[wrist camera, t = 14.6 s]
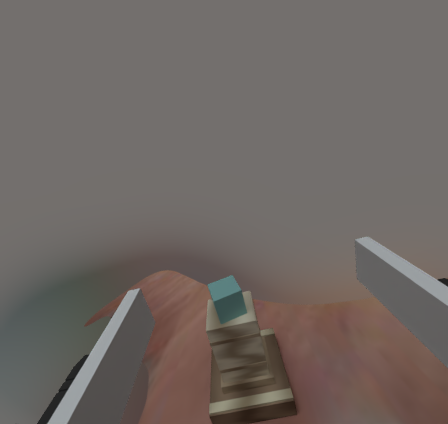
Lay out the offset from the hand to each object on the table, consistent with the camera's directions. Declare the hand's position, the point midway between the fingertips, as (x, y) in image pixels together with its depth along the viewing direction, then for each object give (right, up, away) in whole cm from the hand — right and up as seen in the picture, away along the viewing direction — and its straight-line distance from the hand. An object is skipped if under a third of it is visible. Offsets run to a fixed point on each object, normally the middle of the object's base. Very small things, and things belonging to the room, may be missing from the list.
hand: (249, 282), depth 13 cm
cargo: (-1, -10, +19) cm, 21 cm away
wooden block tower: (+2, -21, +22) cm, 31 cm away
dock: (+3, -24, +23) cm, 34 cm away
